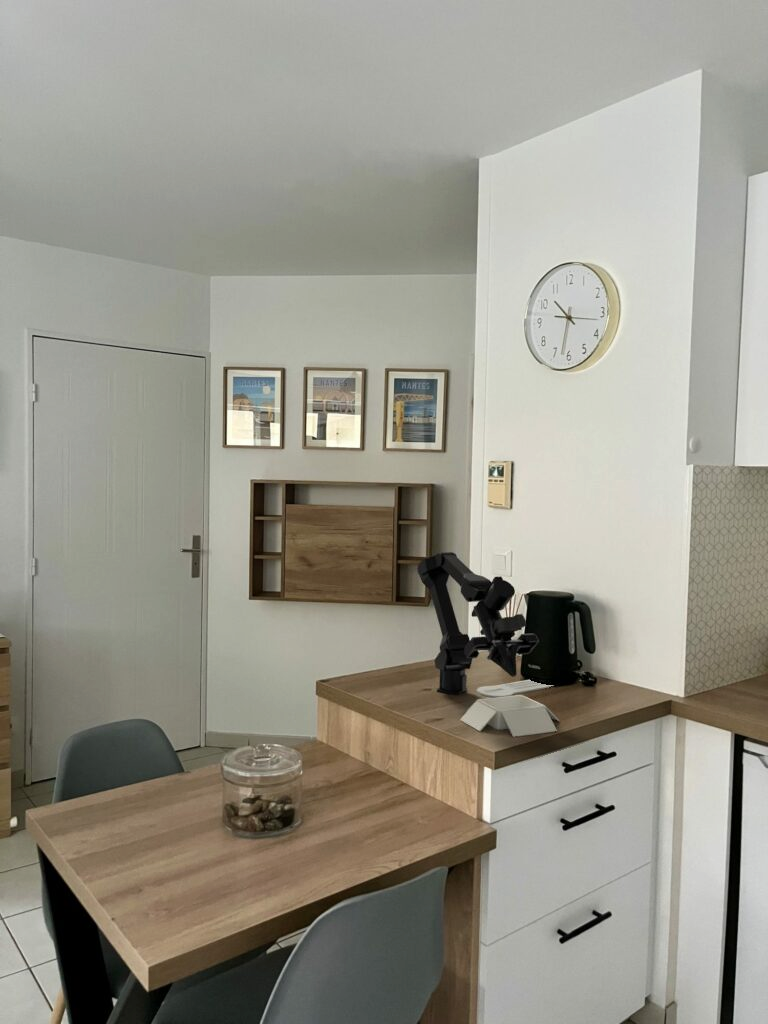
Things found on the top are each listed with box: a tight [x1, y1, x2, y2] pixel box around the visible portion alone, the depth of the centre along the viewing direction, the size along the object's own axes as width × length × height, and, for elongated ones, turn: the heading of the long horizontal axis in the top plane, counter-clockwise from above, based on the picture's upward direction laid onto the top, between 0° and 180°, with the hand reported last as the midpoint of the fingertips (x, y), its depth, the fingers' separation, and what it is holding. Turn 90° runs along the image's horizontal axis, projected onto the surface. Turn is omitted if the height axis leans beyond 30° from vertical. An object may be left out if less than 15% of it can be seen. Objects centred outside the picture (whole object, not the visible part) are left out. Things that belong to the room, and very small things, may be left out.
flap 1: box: [460, 700, 497, 732], centre depth 184 cm, size 9×6×1 cm
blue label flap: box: [502, 707, 558, 738], centre depth 181 cm, size 6×12×1 cm
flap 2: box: [530, 698, 560, 722], centre depth 191 cm, size 9×6×1 cm
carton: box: [476, 694, 547, 731], centre depth 188 cm, size 10×13×4 cm
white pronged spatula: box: [476, 679, 554, 698], centre depth 219 cm, size 28×1×10 cm
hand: (514, 675), depth 186 cm, fingers closed
